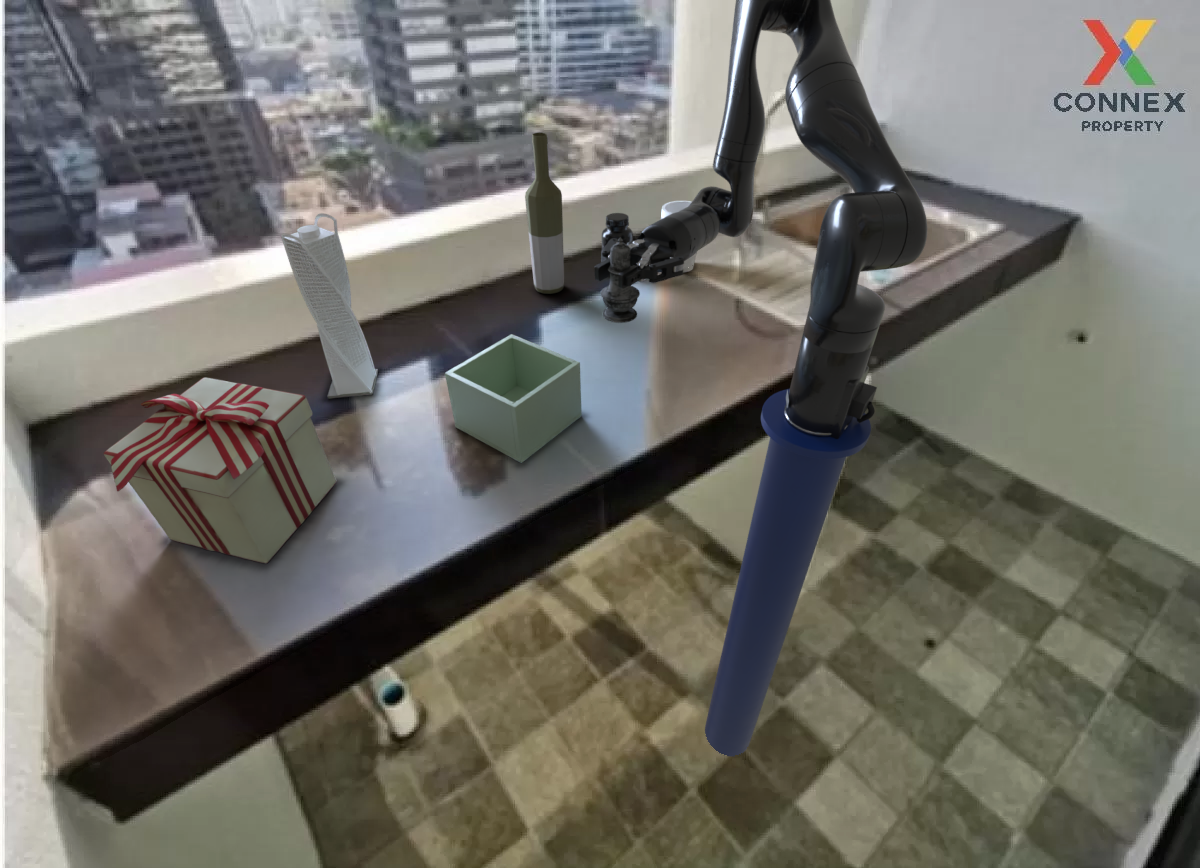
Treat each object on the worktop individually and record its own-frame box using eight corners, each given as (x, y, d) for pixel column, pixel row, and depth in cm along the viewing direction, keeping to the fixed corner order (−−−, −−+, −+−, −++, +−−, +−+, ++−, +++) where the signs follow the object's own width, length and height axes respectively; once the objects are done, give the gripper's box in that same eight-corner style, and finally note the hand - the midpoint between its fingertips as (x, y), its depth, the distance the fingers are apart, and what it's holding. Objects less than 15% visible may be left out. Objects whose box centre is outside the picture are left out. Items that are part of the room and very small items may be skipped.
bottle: (572, 290, 127) (566, 134, 108) (545, 300, 123) (534, 141, 104) (553, 278, 131) (544, 127, 112) (526, 288, 128) (512, 133, 108)
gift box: (142, 567, 71) (57, 458, 60) (241, 463, 85) (187, 359, 74) (273, 588, 69) (209, 478, 58) (352, 478, 83) (314, 372, 72)
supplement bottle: (630, 263, 137) (632, 210, 129) (634, 276, 132) (635, 221, 124) (600, 264, 137) (600, 211, 129) (602, 277, 131) (602, 222, 124)
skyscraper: (386, 370, 103) (341, 204, 86) (381, 397, 97) (330, 225, 79) (335, 374, 102) (279, 208, 85) (326, 402, 96) (263, 229, 78)
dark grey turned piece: (628, 327, 89) (629, 248, 82) (593, 318, 91) (591, 241, 84) (645, 310, 93) (648, 233, 85) (612, 302, 95) (611, 227, 88)
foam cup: (686, 279, 130) (691, 219, 122) (650, 268, 135) (653, 209, 127) (707, 264, 136) (714, 206, 128) (672, 254, 141) (677, 197, 132)
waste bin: (581, 416, 93) (580, 362, 87) (521, 463, 85) (514, 407, 79) (517, 386, 99) (511, 333, 93) (455, 427, 91) (444, 372, 85)
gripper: (636, 208, 98) (569, 241, 87) (714, 226, 91) (650, 265, 80) (635, 252, 102) (571, 289, 92) (709, 273, 96) (648, 315, 85)
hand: (608, 277), depth 86 cm, fingers closed on dark grey turned piece, 3 cm apart
